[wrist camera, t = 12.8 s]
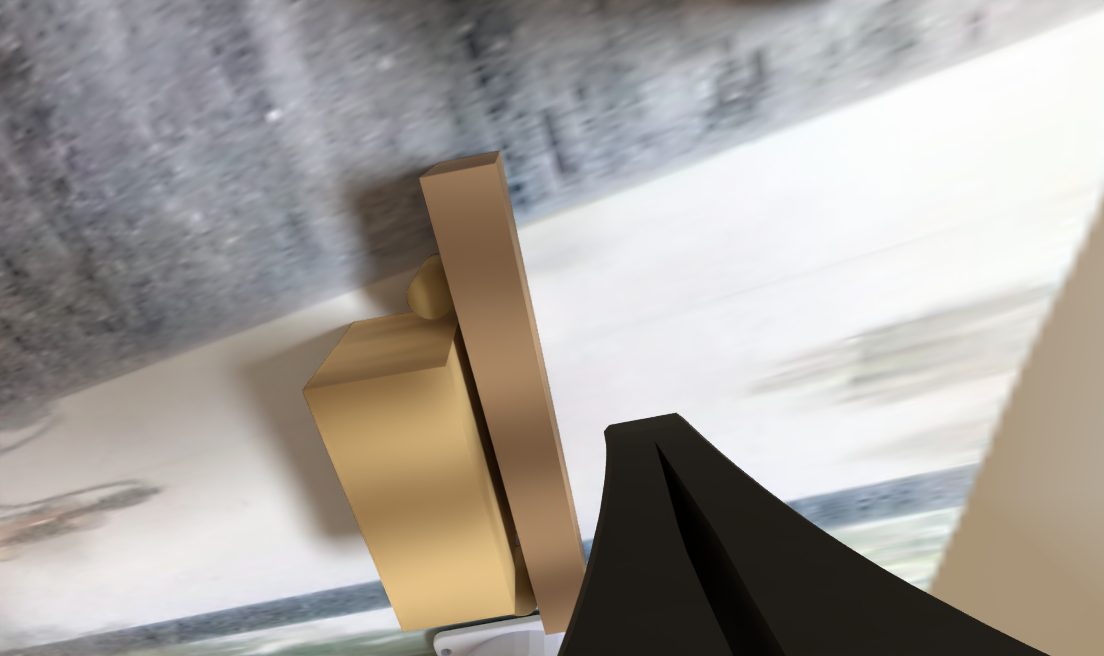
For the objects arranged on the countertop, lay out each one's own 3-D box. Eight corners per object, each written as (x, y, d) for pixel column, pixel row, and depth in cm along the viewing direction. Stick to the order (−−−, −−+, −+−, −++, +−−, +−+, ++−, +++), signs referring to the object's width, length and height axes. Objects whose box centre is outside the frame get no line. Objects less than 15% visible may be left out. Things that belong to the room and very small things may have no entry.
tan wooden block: (516, 510, 23) (514, 613, 18) (423, 526, 23) (398, 632, 18) (463, 301, 19) (445, 366, 14) (351, 320, 19) (297, 391, 14)
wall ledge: (585, 557, 24) (595, 628, 21) (508, 571, 24) (506, 643, 21) (499, 150, 16) (495, 163, 13) (389, 172, 17) (358, 190, 13)
